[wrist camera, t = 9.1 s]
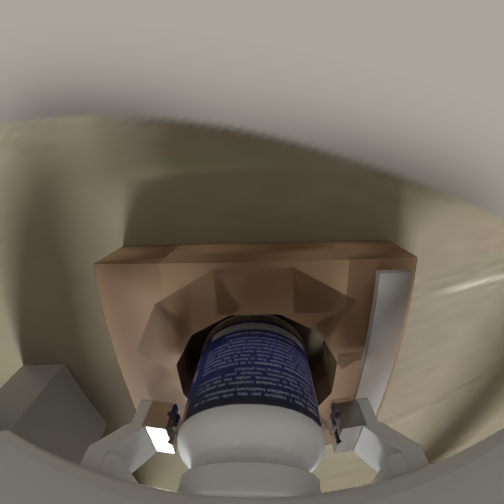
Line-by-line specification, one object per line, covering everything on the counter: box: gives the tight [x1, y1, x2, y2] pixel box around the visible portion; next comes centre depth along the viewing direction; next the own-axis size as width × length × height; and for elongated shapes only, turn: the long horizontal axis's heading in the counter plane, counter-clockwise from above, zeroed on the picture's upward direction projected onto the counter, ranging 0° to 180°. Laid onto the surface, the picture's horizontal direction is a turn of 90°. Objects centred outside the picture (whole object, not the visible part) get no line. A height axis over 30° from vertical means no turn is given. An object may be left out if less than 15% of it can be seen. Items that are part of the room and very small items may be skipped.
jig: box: [94, 241, 417, 445], centre depth 13 cm, size 14×12×3 cm
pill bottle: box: [177, 315, 325, 498], centre depth 10 cm, size 6×6×10 cm
